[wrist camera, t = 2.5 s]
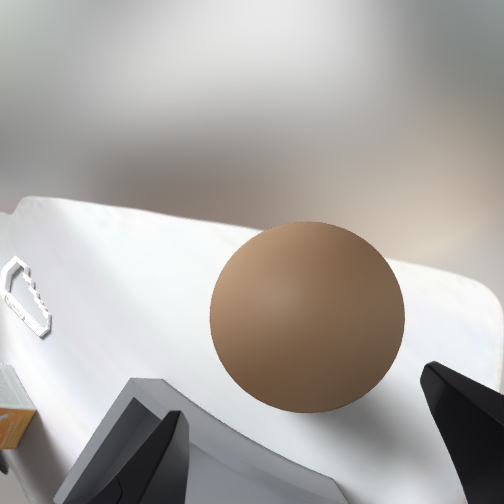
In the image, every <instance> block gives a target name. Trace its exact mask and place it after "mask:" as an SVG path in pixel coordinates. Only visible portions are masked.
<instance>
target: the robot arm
mask: <svg viewBox="0 0 504 504" xmlns="http://www.w3.org/2000/svg"><path fill="white" fill-rule="evenodd" d="M420 384H421V386H422V389H423V392H424V395H425V397H426V400H427V403H428V406H429V409H430V411H431V414H432V416H433V418H434V420H435V423H436V425H437V427H438V429H439V431H440V433H441V436H442V438H443V440H444V442H445V445H446V447H447V449H448V452H449V454H450V456H451V459H452V461H453V464H454V466H455V469H456V471H457V474H458V476H459V479H460V482H461V484H462V487H463V490H464V493H465V496H466V499H467V502H468V504H504V395H503V394H500V393H498V392H496V391H494V390H492V389H490V388H488V387H486V386H484V385H482V384H480V383H478V382H476V381H474V380H472V379H470V378H468V377H466V376H464V375H462V374H460V373H458V372H456V371H454V370H452V369H450V368H448V367H446V366H444V365H442V364H440V363H438V362H436V361H432V362H430V363H427V364H426V365H425V366H424V369H423V372H422V375H421V378H420ZM188 471H189V423H188V421H187V419H186V417H185V415H184V413H183V412H182V411H181V410H170V411H169V412H168V413H167V414H166V416H165V417H164V418H163V419H162V420H161V422H160V423H159V424H158V425H157V426H156V428H155V429H154V430H153V431H152V433H151V434H150V435H149V436H148V437H147V439H146V440H145V441H144V442H143V443H142V445H141V446H140V447H139V448H138V449H137V450H136V452H135V453H134V454H133V455H132V456H131V458H130V459H129V460H128V461H127V462H126V463H125V464H124V466H123V467H122V468H121V469H120V470H119V471H118V473H117V475H115V476H114V477H113V478H112V479H111V480H110V481H109V483H108V484H107V485H106V486H105V487H104V488H103V489H102V490H101V491H100V492H99V493H97V494H96V495H95V496H94V497H93V498H92V499H91V500H89V501H88V502H87V503H86V504H185V498H186V489H187V480H188Z"/></svg>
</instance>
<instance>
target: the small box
mask: <svg viewBox="0 0 504 504" xmlns="http://www.w3.org/2000/svg"><path fill="white" fill-rule="evenodd" d="M36 410H37V409H36V408H35V406H34V404H33V403H32V401H31V400H30V398H29V396H28V395H27V393H26V391H25V390H24V388H23V386H22V384H21V382H20V380H19V379H18V377H17V375H16V373H15V371H14V369H13V367H12V366H11V365H7V364H3V363H0V449H16V448H17V446H18V443H19V441H20V439H21V437H22V435H23V433H24V431H25V429H26V427H27V426H28V424H29V422H30V420H31V419H32V417H33V415H34V414H35V412H36Z"/></svg>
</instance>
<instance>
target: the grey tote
mask: <svg viewBox="0 0 504 504" xmlns="http://www.w3.org/2000/svg"><path fill="white" fill-rule="evenodd" d="M170 410H181V411H182V412H183V413H184V415H185V417H186V419H187V421H188V423H189V471H188V480H187V489H186V498H185V504H348V502H347V501H346V499H345V498H344V496H343V495H342V493H341V491H340V490H339V488H338V487H337V485H336V484H335V482H334V480H333V479H332V478H330V477H327V476H325V475H322V474H320V473H317V472H315V471H313V470H310V469H308V468H306V467H303V466H301V465H299V464H297V463H295V462H293V461H291V460H289V459H286V458H284V457H282V456H280V455H278V454H277V453H275V452H273V451H271V450H269V449H267V448H265V447H263V446H261V445H260V444H258V443H256V442H254V441H252V440H251V439H249V438H247V437H246V436H244V435H242V434H241V433H239V432H237V431H236V430H234V429H232V428H231V427H229V426H227V425H226V424H224V423H223V422H221V421H220V420H218V419H217V418H215V417H214V416H212V415H211V414H209V413H208V412H206V411H205V410H203V409H202V408H200V407H199V406H198V405H196V404H195V403H193V402H192V401H191V400H189V399H188V398H187V397H185V396H184V395H183V394H181V393H180V392H179V391H177V390H176V389H175V388H173V387H172V386H171V385H170V384H168V383H167V382H166V381H165V380H163V379H147V378H130V379H129V381H128V382H127V384H126V385H125V387H124V388H123V390H122V391H121V393H120V394H119V396H118V397H117V399H116V400H115V402H114V403H113V405H112V406H111V408H110V409H109V411H108V412H107V414H106V415H105V417H104V418H103V420H102V421H101V423H100V425H99V426H98V428H97V429H96V431H95V432H94V434H93V435H92V437H91V439H90V440H89V442H88V443H87V445H86V446H85V448H84V450H83V451H82V453H81V454H80V456H79V458H78V459H77V461H76V462H75V464H74V466H73V467H72V469H71V470H70V472H69V474H68V475H67V477H66V479H65V480H64V482H63V484H62V485H61V487H60V489H59V490H58V492H57V494H56V495H55V497H54V499H53V501H54V502H55V503H56V504H86V503H87V502H88V501H89V500H91V499H92V498H93V497H94V496H95V495H96V494H97V493H99V492H100V491H101V490H102V489H103V488H104V487H105V486H106V485H107V484H108V483H109V481H110V480H111V479H112V478H113V477H114V476H115V475H117V473H118V471H119V470H120V469H121V468H122V467H123V466H124V464H125V463H126V462H127V461H128V460H129V459H130V458H131V456H132V455H133V454H134V453H135V452H136V450H137V449H138V448H139V447H140V446H141V445H142V443H143V442H144V441H145V440H146V439H147V437H148V436H149V435H150V434H151V433H152V431H153V430H154V429H155V428H156V426H157V425H158V424H159V423H160V422H161V420H162V419H163V418H164V417H165V416H166V414H167V413H168V412H169V411H170Z"/></svg>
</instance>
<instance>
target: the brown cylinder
mask: <svg viewBox="0 0 504 504" xmlns="http://www.w3.org/2000/svg"><path fill="white" fill-rule="evenodd" d="M404 323H405V312H404V303H403V297H402V293H401V290H400V286H399V284H398V281H397V279H396V277H395V275H394V273H393V271H392V269H391V268H390V266H389V264H388V263H387V262H386V260H385V259H384V258H383V257H382V255H381V254H380V253H379V252H378V251H377V250H376V249H375V248H374V247H373V246H371V245H370V244H369V243H368V242H366V241H365V240H364V239H362V238H361V237H359V236H357V235H356V234H354V233H352V232H350V231H348V230H346V229H343V228H340V227H337V226H334V225H330V224H325V223H320V222H295V223H288V224H284V225H280V226H276V227H273V228H271V229H269V230H266V231H264V232H262V233H260V234H258V235H257V236H255V237H253V238H252V239H250V240H249V241H248V242H246V243H245V244H244V245H243V246H242V247H241V248H239V249H238V250H237V251H236V252H235V253H234V255H233V256H232V257H231V258H230V259H229V261H228V262H227V263H226V265H225V267H224V268H223V270H222V271H221V273H220V275H219V278H218V280H217V282H216V285H215V288H214V291H213V294H212V299H211V305H210V328H211V335H212V339H213V343H214V347H215V349H216V352H217V354H218V357H219V359H220V361H221V363H222V364H223V366H224V368H225V369H226V371H227V372H228V373H229V375H230V376H231V377H232V379H233V380H234V381H235V382H236V383H237V384H238V385H239V386H240V387H241V388H242V389H243V390H244V391H246V392H247V393H248V394H250V395H251V396H253V397H254V398H256V399H257V400H259V401H261V402H263V403H265V404H267V405H269V406H272V407H275V408H278V409H281V410H285V411H290V412H296V413H317V412H325V411H329V410H333V409H337V408H340V407H343V406H345V405H347V404H350V403H352V402H354V401H355V400H357V399H359V398H361V397H362V396H364V395H365V394H366V393H367V392H369V391H370V390H371V389H373V388H374V387H375V386H376V385H377V384H378V383H379V381H380V380H381V379H382V378H383V377H384V376H385V374H386V373H387V372H388V370H389V369H390V367H391V365H392V364H393V362H394V360H395V358H396V356H397V353H398V351H399V348H400V345H401V342H402V337H403V333H404Z"/></svg>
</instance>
